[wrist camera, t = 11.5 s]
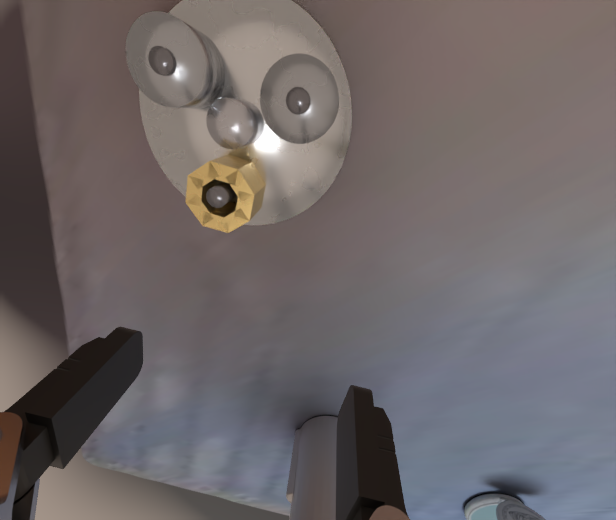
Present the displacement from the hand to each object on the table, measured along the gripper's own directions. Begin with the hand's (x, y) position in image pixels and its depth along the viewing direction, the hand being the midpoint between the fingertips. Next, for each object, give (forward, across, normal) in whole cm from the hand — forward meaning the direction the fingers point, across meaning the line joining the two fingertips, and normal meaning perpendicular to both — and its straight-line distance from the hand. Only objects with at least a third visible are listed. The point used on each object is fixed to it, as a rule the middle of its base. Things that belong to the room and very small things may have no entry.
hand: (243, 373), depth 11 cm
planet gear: (+22, +8, -1) cm, 23 cm away
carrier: (+23, +8, -7) cm, 25 cm away
